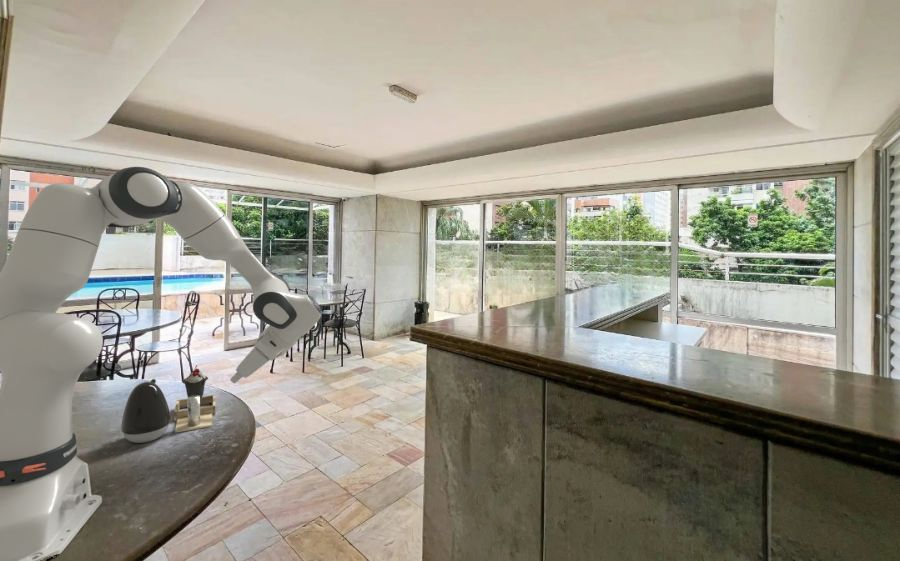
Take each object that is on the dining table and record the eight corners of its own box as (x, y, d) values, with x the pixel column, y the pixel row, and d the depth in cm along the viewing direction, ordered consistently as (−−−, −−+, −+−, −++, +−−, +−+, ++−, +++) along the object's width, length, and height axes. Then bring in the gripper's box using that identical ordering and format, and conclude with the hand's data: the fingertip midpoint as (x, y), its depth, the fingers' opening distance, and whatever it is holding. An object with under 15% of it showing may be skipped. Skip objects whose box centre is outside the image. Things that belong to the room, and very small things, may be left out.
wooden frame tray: (215, 425, 110) (214, 397, 109) (171, 433, 105) (170, 403, 104) (215, 402, 126) (214, 377, 125) (177, 407, 121) (176, 381, 120)
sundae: (196, 417, 115) (195, 368, 114) (177, 414, 116) (176, 365, 115) (213, 408, 122) (213, 361, 120) (195, 405, 123) (194, 359, 122)
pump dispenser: (177, 427, 109) (175, 374, 107) (162, 445, 99) (160, 387, 97) (133, 431, 105) (131, 377, 104) (113, 450, 96) (111, 390, 94)
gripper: (275, 326, 121) (242, 357, 120) (256, 342, 101) (216, 379, 100) (291, 340, 122) (258, 371, 121) (274, 358, 102) (235, 395, 101)
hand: (238, 375), depth 111 cm, fingers open, 8 cm apart
